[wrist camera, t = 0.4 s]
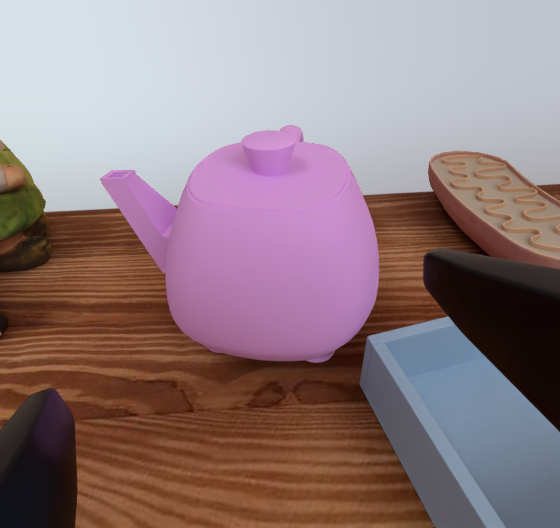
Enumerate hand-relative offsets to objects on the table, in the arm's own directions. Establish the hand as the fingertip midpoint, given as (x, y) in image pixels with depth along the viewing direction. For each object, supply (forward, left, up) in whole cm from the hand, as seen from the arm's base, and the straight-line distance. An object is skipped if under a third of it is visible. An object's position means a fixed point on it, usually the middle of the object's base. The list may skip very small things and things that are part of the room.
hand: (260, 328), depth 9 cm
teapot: (+20, -4, -17) cm, 26 cm away
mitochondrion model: (+22, -30, -17) cm, 40 cm away
